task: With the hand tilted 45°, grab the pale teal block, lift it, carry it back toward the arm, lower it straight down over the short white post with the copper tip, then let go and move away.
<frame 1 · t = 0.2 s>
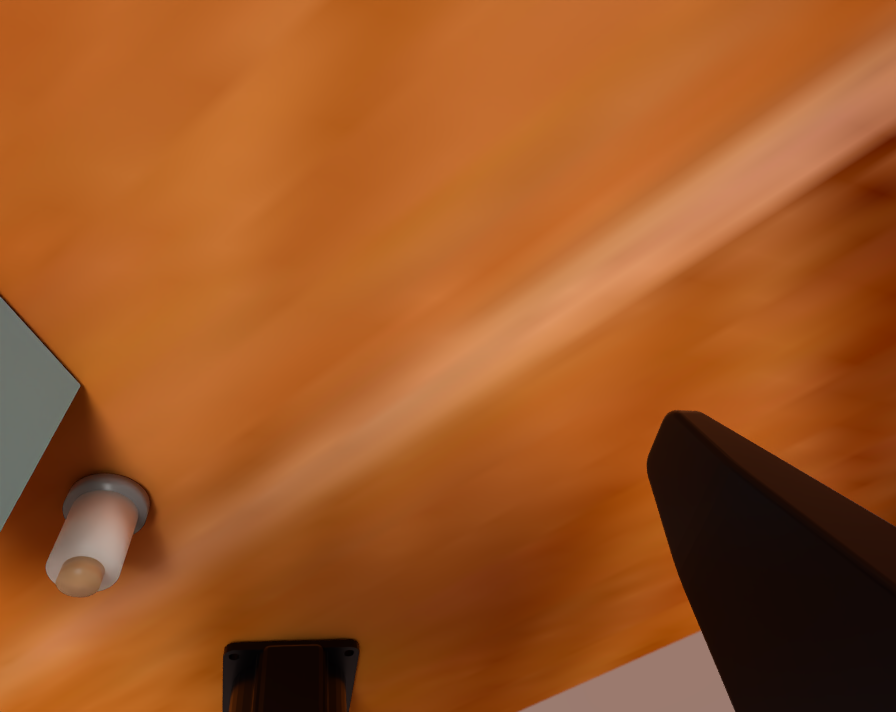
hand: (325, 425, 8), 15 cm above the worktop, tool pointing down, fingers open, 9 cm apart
post: (109, 502, 26), on the worktop
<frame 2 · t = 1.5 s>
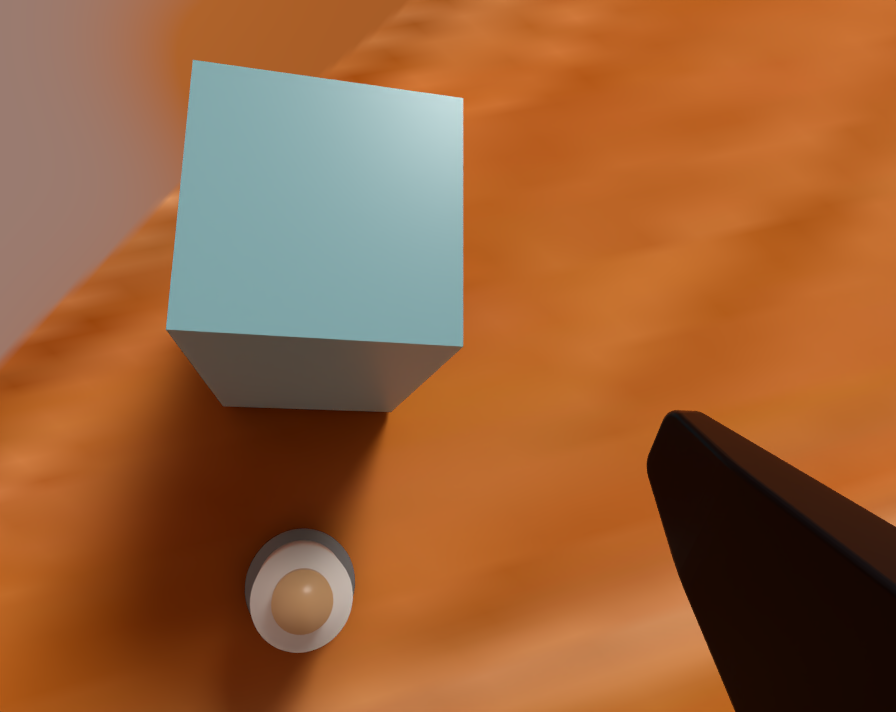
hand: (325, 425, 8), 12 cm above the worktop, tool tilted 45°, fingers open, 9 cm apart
pale teal block: (313, 329, 21), on the worktop
post: (300, 582, 19), on the worktop
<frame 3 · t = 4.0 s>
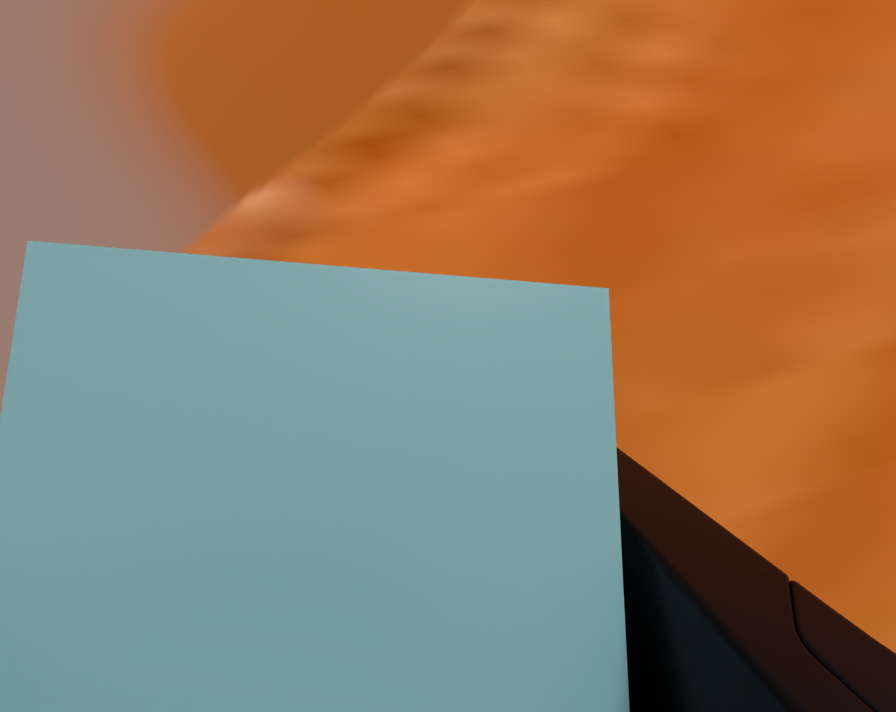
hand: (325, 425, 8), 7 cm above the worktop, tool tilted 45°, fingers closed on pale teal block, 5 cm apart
pale teal block: (308, 526, 14), on the worktop, touching gripper
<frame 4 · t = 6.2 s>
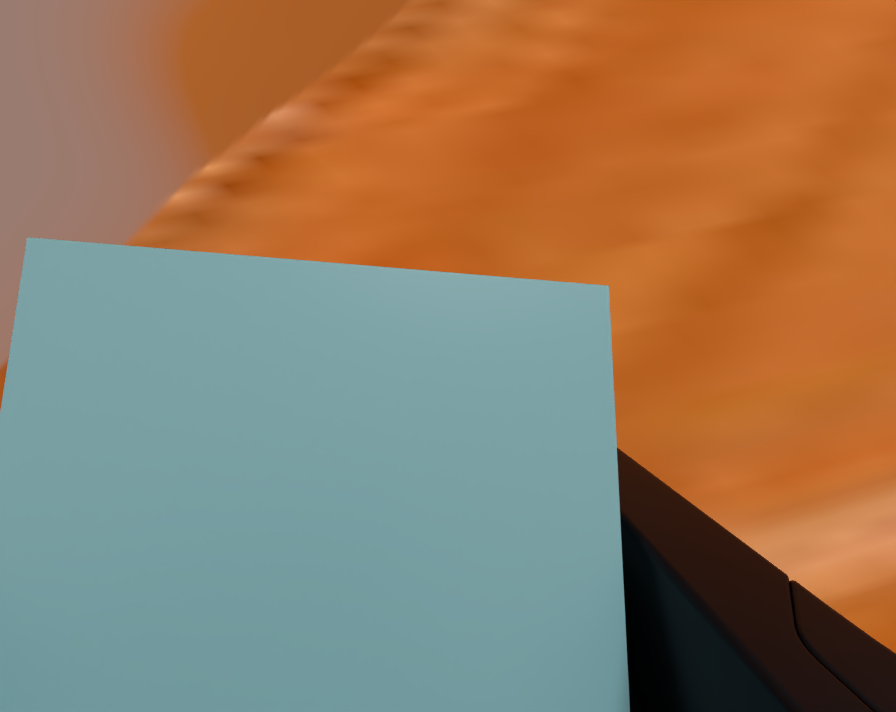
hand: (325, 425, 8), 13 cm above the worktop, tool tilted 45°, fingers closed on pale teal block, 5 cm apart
pale teal block: (308, 524, 14), point 7 cm above the worktop, touching gripper
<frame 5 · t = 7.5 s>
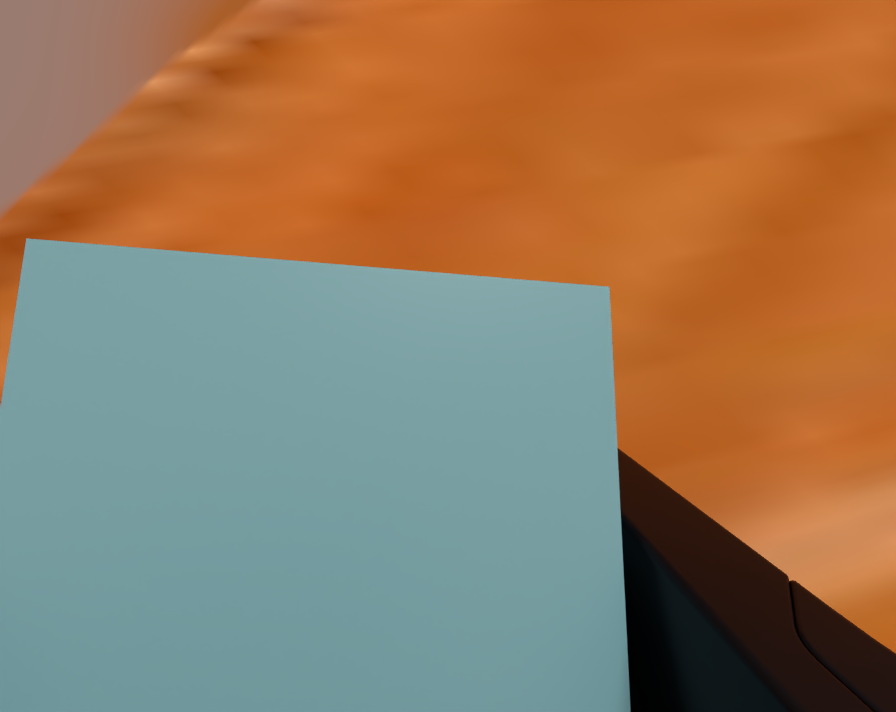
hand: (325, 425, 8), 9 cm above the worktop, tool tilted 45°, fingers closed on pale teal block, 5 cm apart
pale teal block: (308, 525, 14), point 2 cm above the worktop, touching gripper
when the fingers open (8 cm above the worktop, at t = 8.6 s): pale teal block drops 1 cm, on the worktop.
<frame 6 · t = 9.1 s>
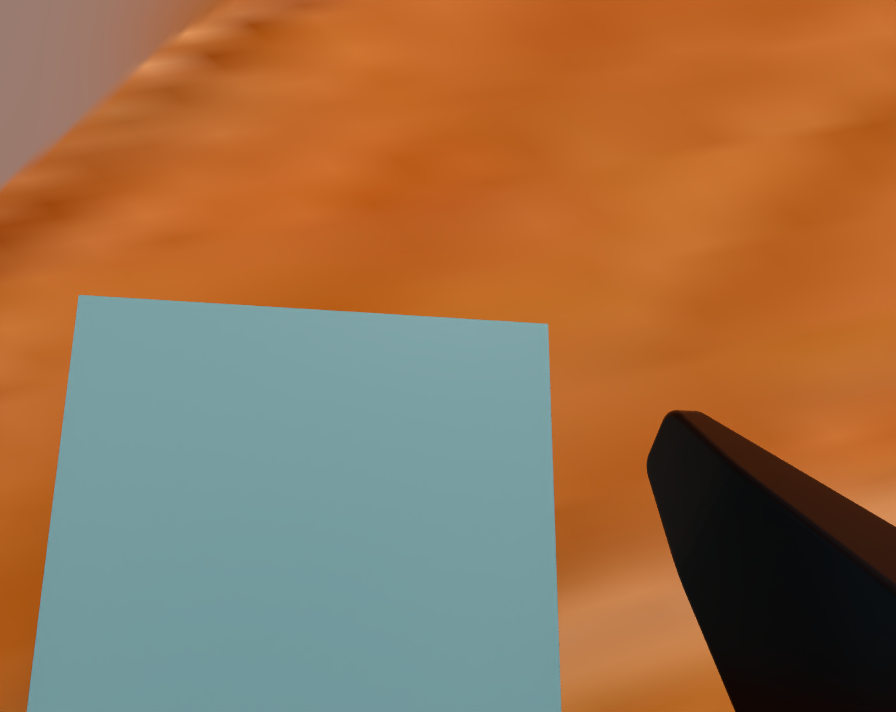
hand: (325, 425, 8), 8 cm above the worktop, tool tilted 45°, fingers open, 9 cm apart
pale teal block: (305, 522, 15), on the worktop
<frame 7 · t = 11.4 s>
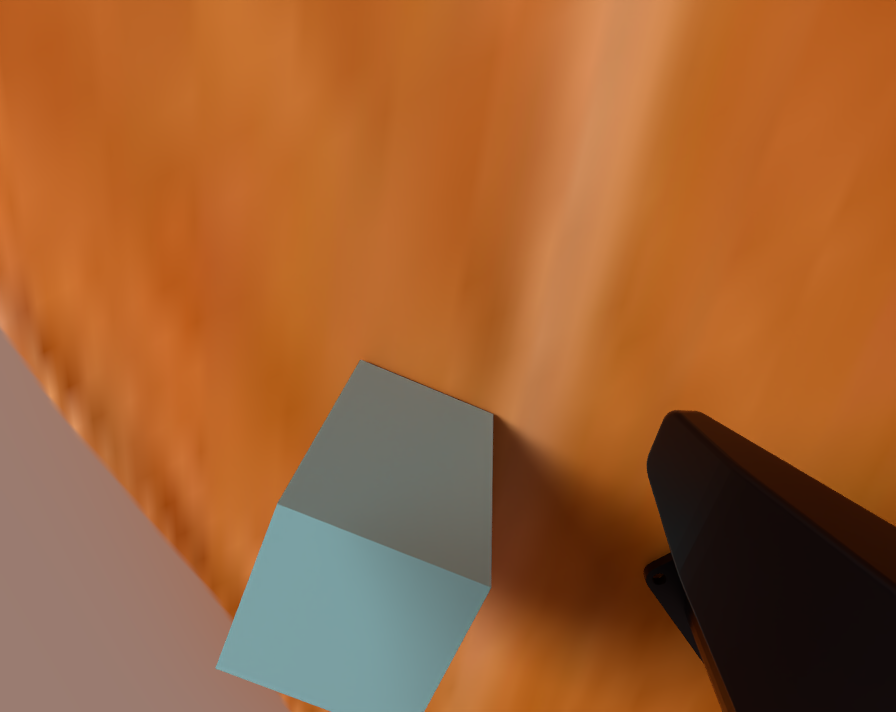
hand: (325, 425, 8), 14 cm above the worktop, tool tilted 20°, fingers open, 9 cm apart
pale teal block: (401, 445, 24), on the worktop
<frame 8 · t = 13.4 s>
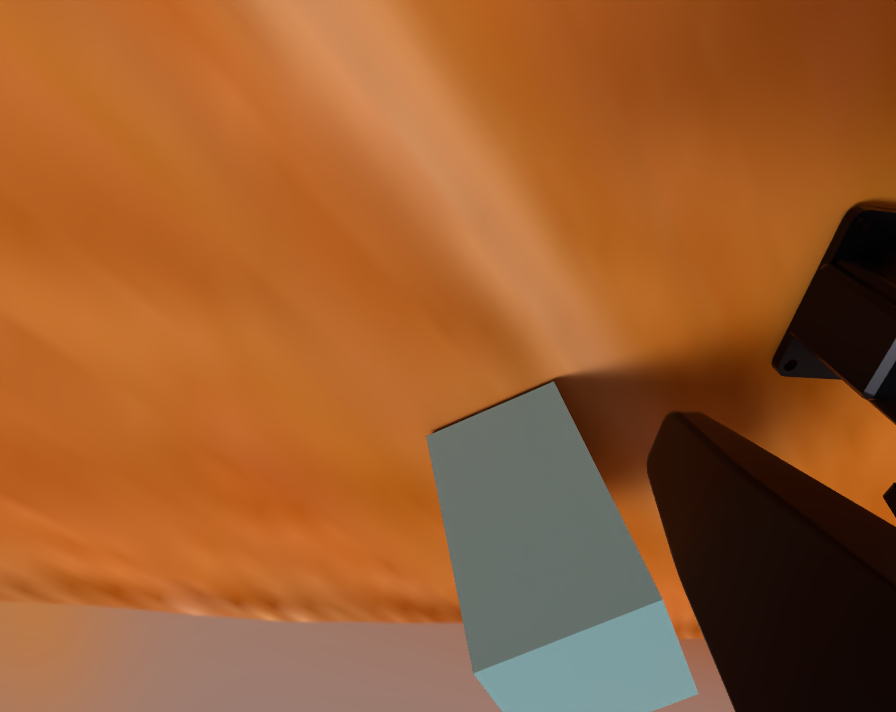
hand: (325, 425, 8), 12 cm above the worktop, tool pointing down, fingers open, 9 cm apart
pale teal block: (512, 454, 25), on the worktop
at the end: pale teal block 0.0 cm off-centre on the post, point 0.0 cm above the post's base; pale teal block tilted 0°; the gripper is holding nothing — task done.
